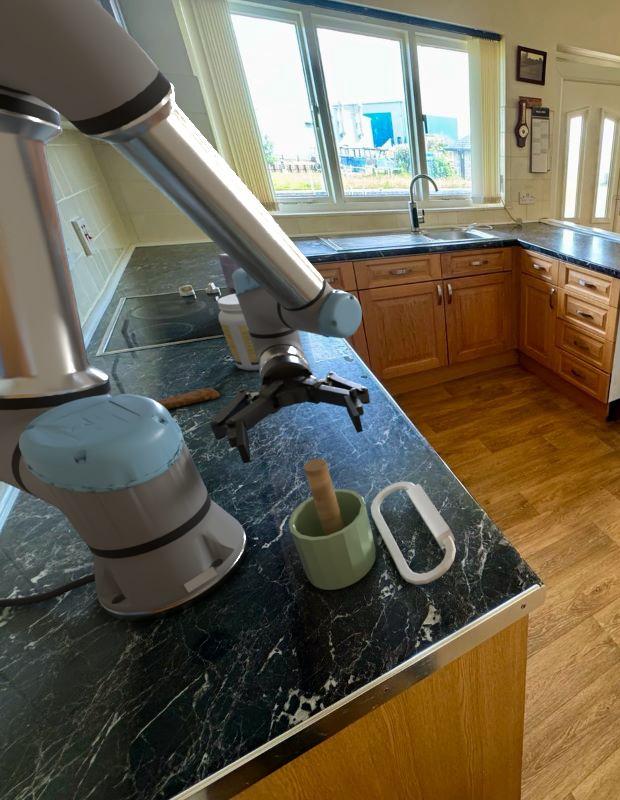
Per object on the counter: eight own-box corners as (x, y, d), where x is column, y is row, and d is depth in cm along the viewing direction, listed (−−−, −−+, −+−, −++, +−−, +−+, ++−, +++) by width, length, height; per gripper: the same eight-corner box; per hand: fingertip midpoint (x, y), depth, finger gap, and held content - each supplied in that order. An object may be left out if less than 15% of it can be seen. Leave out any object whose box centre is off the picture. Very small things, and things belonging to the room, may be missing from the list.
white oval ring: (369, 508, 68) (359, 493, 65) (415, 481, 71) (407, 465, 68) (416, 603, 54) (405, 588, 51) (471, 564, 57) (463, 548, 54)
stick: (334, 569, 56) (305, 473, 48) (331, 556, 57) (302, 462, 49) (354, 561, 57) (328, 466, 49) (350, 548, 58) (324, 455, 50)
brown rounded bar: (212, 389, 97) (206, 375, 95) (222, 396, 94) (216, 382, 92) (101, 425, 84) (92, 410, 82) (109, 435, 81) (100, 420, 79)
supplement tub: (298, 352, 116) (281, 291, 107) (275, 372, 105) (255, 305, 97) (252, 352, 115) (231, 290, 107) (225, 371, 105) (200, 305, 96)
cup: (312, 601, 52) (293, 551, 48) (302, 553, 58) (285, 504, 54) (383, 570, 56) (372, 521, 52) (366, 528, 62) (355, 481, 58)
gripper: (367, 378, 79) (402, 434, 63) (204, 413, 67) (199, 493, 52) (359, 340, 75) (395, 390, 60) (186, 371, 63) (174, 442, 48)
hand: (304, 438), depth 56 cm, fingers open, 13 cm apart
